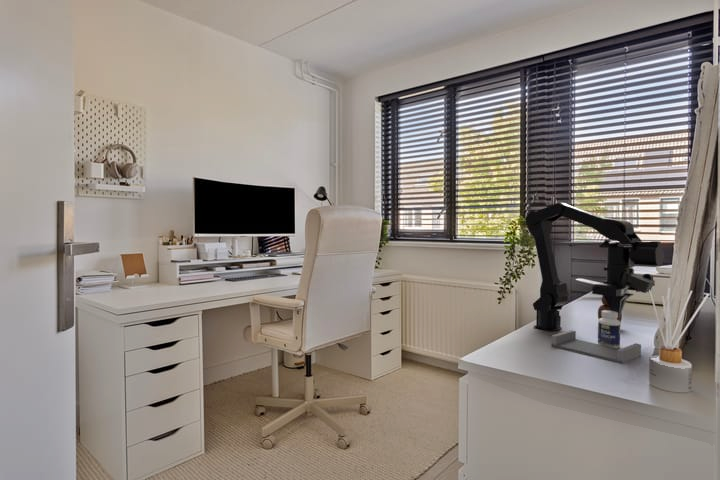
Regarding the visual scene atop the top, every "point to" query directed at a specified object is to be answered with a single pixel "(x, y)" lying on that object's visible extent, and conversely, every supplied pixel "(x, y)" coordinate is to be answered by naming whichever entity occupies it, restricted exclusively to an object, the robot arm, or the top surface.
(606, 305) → the wooden figurine
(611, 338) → the pill bottle
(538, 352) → the top surface
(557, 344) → the tray
